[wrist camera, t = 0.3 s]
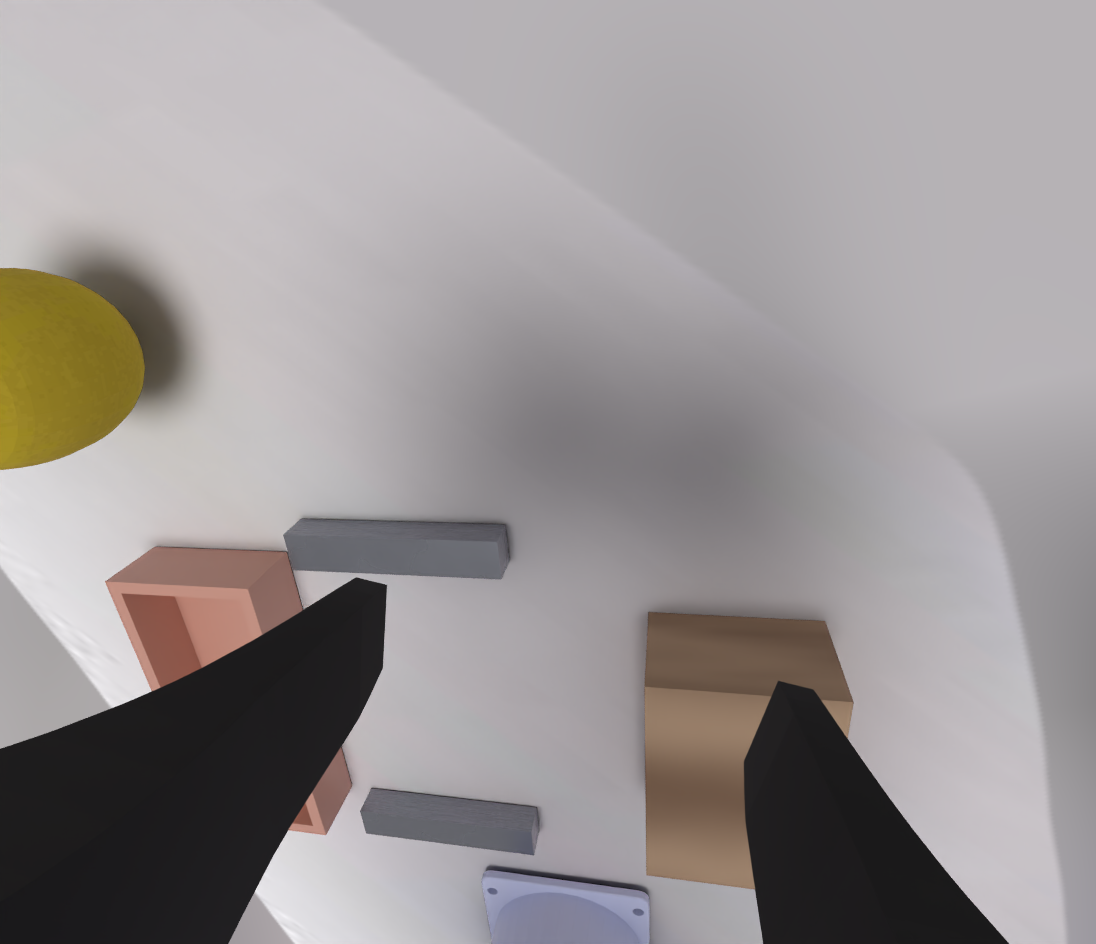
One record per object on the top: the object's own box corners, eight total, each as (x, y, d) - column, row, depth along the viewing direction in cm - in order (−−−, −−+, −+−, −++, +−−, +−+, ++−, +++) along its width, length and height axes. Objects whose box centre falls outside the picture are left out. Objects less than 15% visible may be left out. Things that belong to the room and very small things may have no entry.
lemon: (192, 435, 23) (-26, 549, 16) (55, 380, 23) (-225, 468, 16) (203, 290, 20) (-50, 346, 13) (49, 229, 20) (-287, 252, 13)
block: (799, 797, 25) (820, 897, 22) (650, 781, 26) (646, 874, 23) (823, 616, 22) (853, 702, 18) (648, 607, 23) (644, 686, 19)
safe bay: (539, 830, 28) (534, 855, 27) (377, 810, 30) (366, 833, 29) (505, 524, 22) (497, 541, 21) (301, 518, 23) (283, 535, 22)
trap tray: (352, 786, 30) (325, 835, 27) (240, 773, 31) (206, 819, 28) (286, 551, 24) (247, 588, 22) (154, 546, 25) (105, 581, 23)
